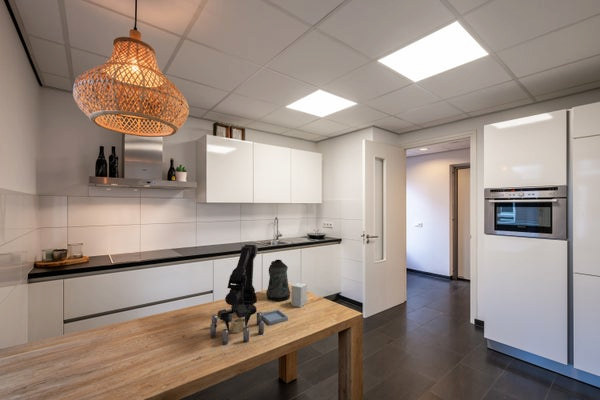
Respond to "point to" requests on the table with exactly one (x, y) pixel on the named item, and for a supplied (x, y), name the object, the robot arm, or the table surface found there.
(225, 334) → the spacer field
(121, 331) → the table surface
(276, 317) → the tray
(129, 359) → the table surface
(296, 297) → the supplement box
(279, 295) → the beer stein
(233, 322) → the brass nut
